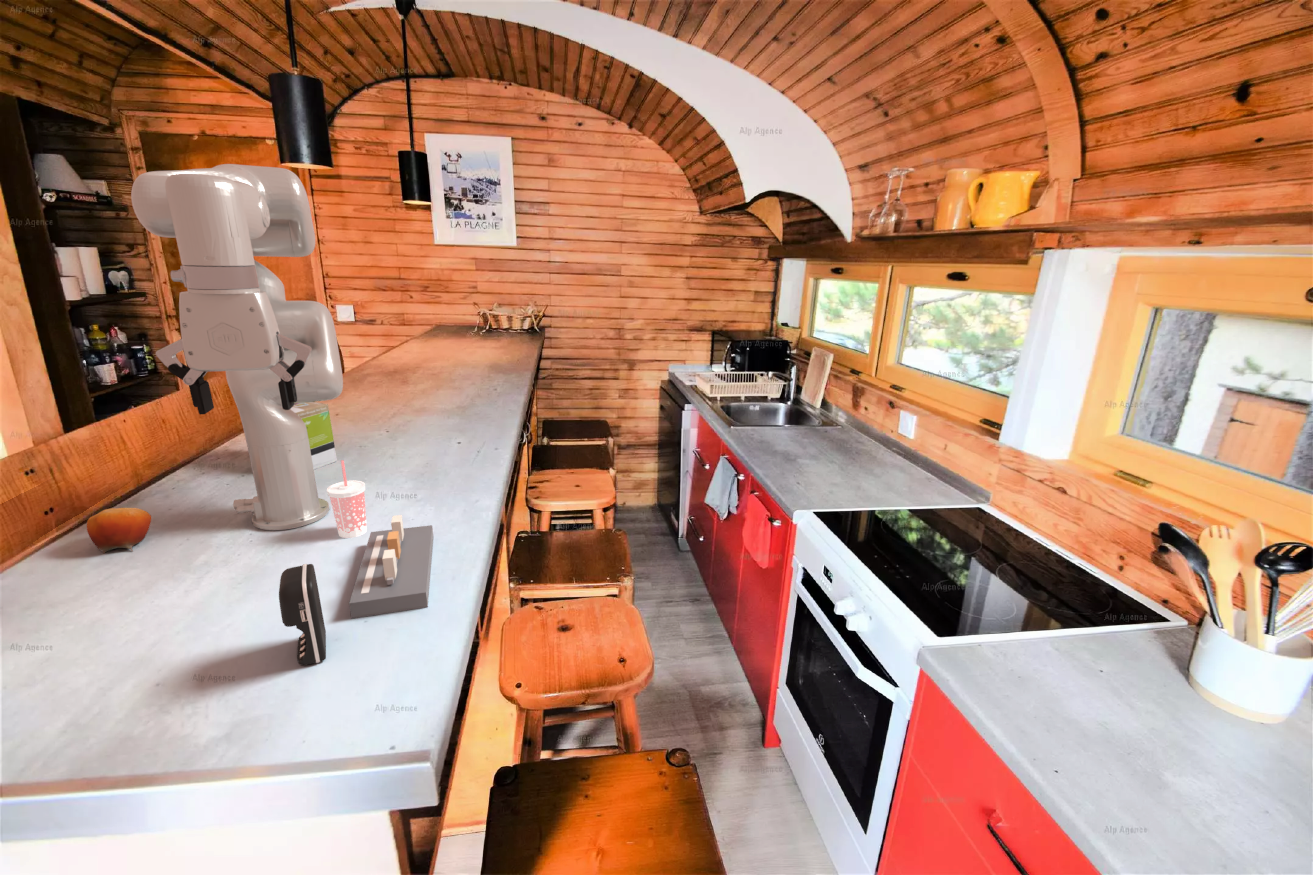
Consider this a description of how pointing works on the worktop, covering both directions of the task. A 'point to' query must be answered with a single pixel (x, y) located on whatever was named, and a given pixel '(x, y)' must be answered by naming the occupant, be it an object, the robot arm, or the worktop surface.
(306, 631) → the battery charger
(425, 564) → the switch panel
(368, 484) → the worktop surface
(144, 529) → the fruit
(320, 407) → the tea box
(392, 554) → the switch paddles
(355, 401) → the worktop surface
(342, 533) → the beverage cup
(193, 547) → the worktop surface
